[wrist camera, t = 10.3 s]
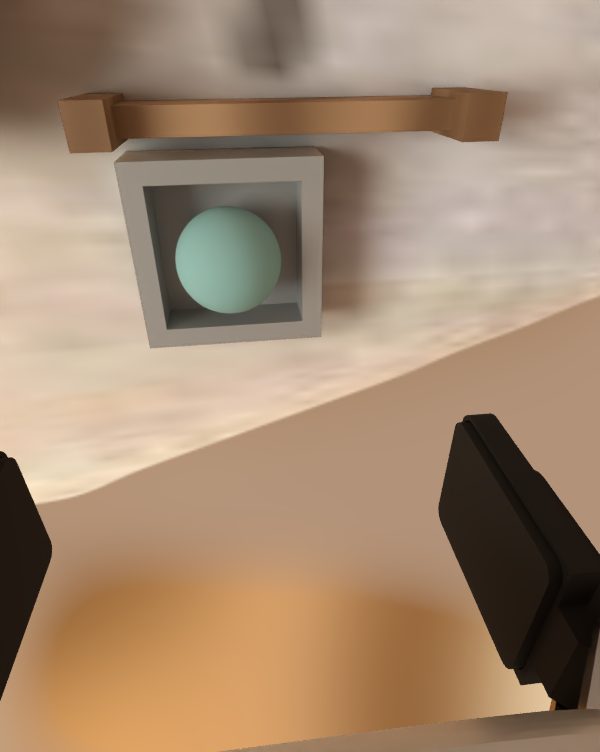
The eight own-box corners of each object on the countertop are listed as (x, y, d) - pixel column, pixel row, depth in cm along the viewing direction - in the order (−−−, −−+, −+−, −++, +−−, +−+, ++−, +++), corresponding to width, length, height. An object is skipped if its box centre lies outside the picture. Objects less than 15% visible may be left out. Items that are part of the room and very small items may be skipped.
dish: (313, 146, 25) (323, 155, 22) (312, 312, 29) (320, 336, 27) (125, 151, 24) (113, 162, 21) (156, 322, 28) (150, 348, 26)
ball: (276, 192, 25) (283, 221, 21) (279, 287, 28) (286, 328, 23) (174, 196, 24) (160, 225, 20) (187, 291, 27) (178, 334, 23)
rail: (464, 87, 24) (507, 92, 20) (458, 129, 25) (498, 140, 21) (85, 93, 22) (57, 100, 19) (94, 138, 23) (69, 153, 20)
